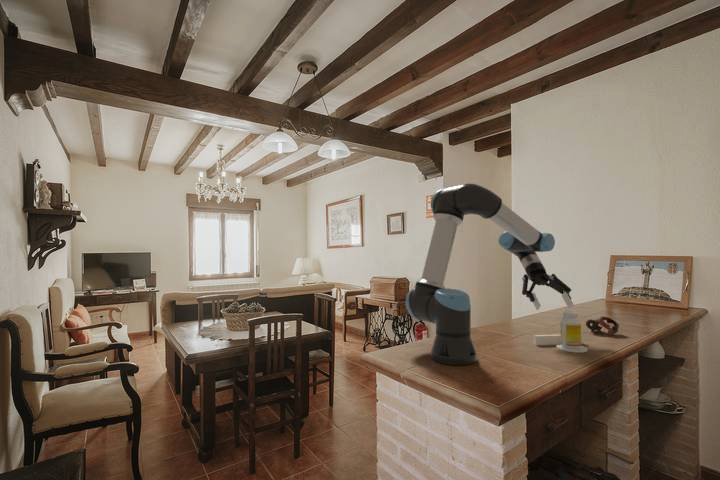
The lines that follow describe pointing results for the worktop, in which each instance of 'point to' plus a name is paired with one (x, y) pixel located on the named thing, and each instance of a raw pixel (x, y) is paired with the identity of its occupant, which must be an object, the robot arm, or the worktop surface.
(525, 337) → the worktop surface
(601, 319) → the brown openwork ring sculpture
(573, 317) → the supplement bottle
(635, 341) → the worktop surface
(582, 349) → the coaster
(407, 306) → the robot arm
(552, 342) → the rail
